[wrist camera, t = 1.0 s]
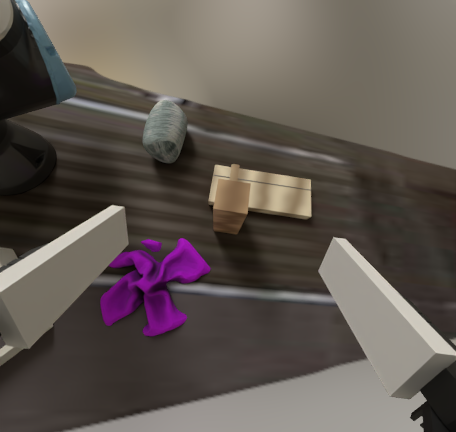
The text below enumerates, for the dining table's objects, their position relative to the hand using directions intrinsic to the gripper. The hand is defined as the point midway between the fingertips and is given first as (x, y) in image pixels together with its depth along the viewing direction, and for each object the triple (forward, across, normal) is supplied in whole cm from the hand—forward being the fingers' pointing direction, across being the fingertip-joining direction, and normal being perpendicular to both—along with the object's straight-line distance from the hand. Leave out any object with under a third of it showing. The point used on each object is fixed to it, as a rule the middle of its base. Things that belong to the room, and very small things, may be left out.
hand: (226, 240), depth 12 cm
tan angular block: (+28, 0, -9) cm, 30 cm away
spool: (+38, -16, +1) cm, 41 cm away
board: (+31, +7, -6) cm, 32 cm away
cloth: (+16, -13, -22) cm, 30 cm away
